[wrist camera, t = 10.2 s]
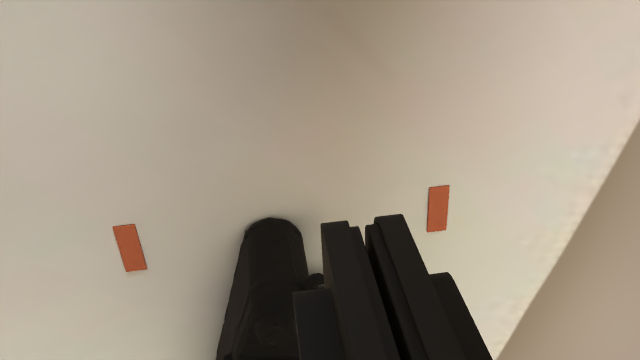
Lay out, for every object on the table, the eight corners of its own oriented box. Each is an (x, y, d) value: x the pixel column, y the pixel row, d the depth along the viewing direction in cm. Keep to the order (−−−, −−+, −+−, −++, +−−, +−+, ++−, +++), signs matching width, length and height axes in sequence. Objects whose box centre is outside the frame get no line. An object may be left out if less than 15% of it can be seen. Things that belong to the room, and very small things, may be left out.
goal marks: (112, 226, 31) (112, 227, 31) (449, 185, 33) (449, 185, 32) (164, 395, 38) (164, 396, 38) (436, 353, 40) (436, 355, 40)
